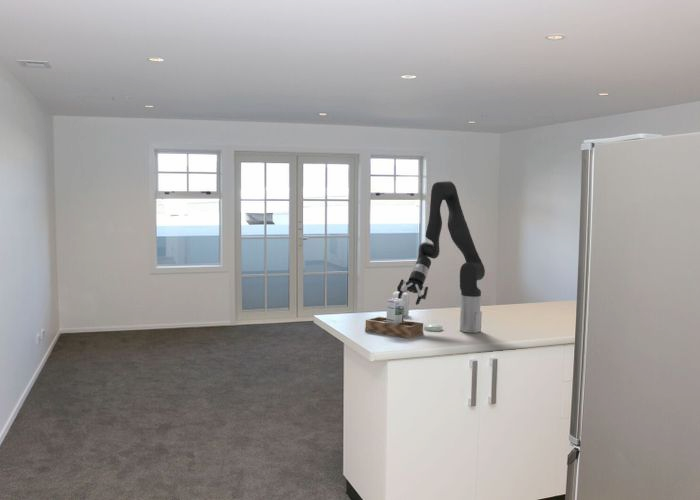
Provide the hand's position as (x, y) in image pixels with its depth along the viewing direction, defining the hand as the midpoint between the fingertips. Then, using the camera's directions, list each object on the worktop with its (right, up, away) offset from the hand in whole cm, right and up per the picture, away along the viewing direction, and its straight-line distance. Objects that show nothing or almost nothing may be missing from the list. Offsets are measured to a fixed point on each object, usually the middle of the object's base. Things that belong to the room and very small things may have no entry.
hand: (407, 301), depth 322 cm
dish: (+12, -14, +3) cm, 19 cm away
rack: (-7, -14, -8) cm, 17 cm away
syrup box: (-7, -13, -8) cm, 16 cm away
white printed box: (-1, -10, +41) cm, 42 cm away
